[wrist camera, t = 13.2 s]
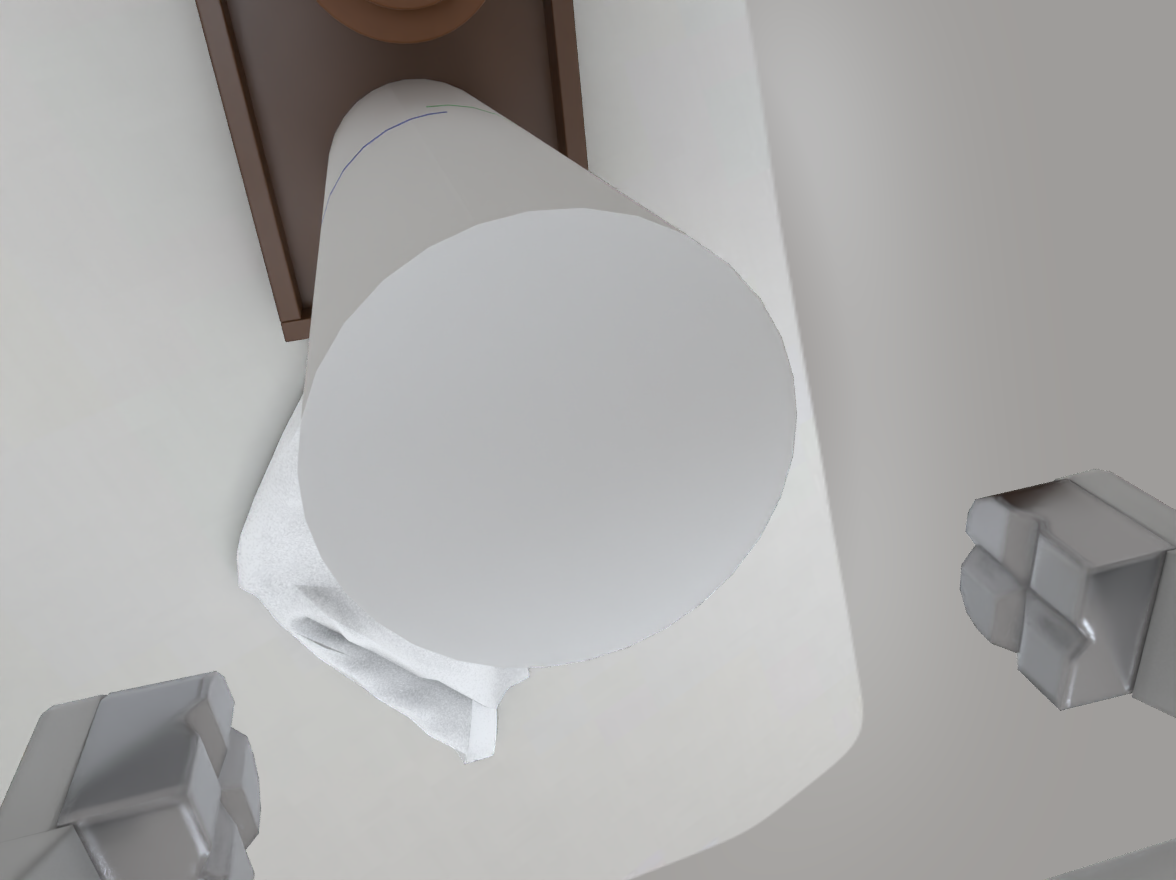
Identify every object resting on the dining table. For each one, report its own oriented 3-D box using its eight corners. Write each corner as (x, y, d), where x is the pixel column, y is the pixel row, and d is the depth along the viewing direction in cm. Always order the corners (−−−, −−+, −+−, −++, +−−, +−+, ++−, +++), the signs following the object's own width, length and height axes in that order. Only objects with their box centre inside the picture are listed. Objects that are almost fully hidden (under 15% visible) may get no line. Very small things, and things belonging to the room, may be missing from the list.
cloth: (213, 275, 34) (206, 291, 32) (560, 283, 38) (573, 298, 36) (256, 782, 45) (252, 817, 43) (523, 749, 49) (531, 781, 47)
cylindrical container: (295, 115, 32) (194, 327, 11) (479, 52, 33) (745, 127, 11) (372, 293, 36) (417, 732, 14) (538, 233, 36) (830, 564, 15)
